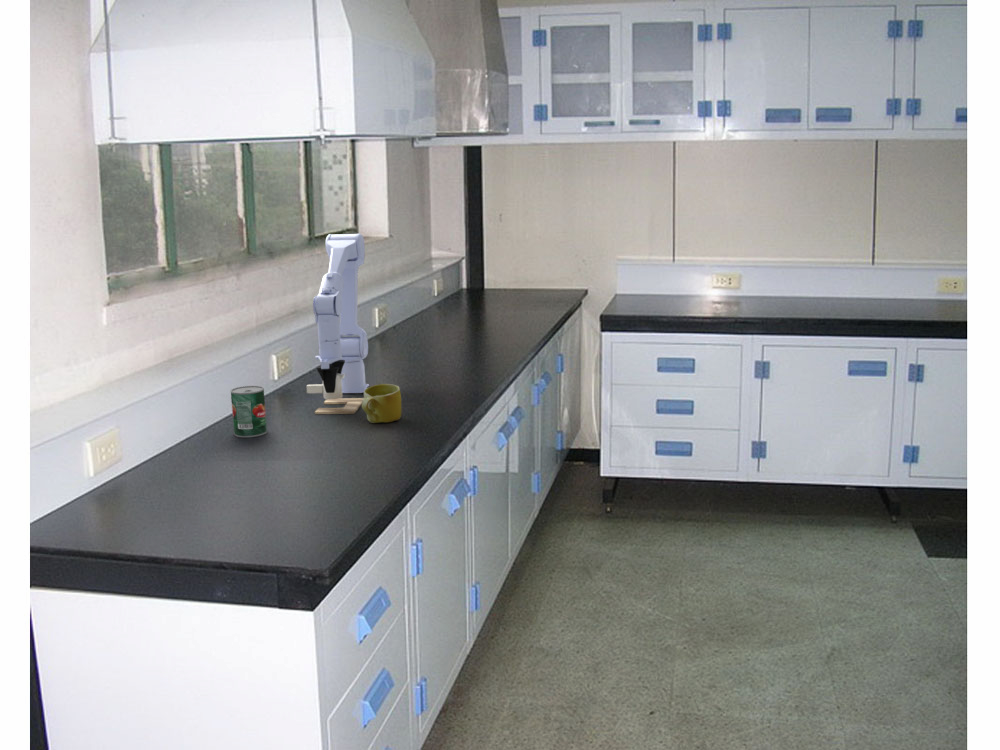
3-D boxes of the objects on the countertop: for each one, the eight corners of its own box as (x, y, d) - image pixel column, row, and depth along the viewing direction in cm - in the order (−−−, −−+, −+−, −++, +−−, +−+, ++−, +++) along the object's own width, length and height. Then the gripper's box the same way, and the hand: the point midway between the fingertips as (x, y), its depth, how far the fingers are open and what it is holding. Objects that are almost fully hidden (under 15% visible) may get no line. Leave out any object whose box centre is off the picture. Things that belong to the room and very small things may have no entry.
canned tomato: (232, 431, 254) (228, 387, 252) (264, 427, 257) (261, 384, 254) (236, 439, 247) (232, 394, 244) (269, 435, 249) (266, 390, 247)
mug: (382, 404, 269) (383, 372, 263) (410, 421, 263) (411, 388, 258) (346, 422, 261) (346, 389, 255) (374, 440, 255) (375, 407, 250)
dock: (327, 400, 282) (327, 398, 282) (364, 400, 282) (364, 398, 281) (314, 414, 268) (314, 411, 268) (354, 413, 268) (354, 411, 267)
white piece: (347, 394, 277) (345, 372, 275) (343, 399, 272) (342, 376, 271) (309, 395, 277) (308, 373, 276) (306, 400, 272) (304, 377, 271)
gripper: (320, 334, 278) (323, 384, 281) (307, 345, 264) (311, 396, 267) (346, 334, 278) (349, 383, 281) (335, 344, 264) (338, 396, 267)
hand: (332, 390), depth 274 cm, fingers closed on white piece, 5 cm apart
